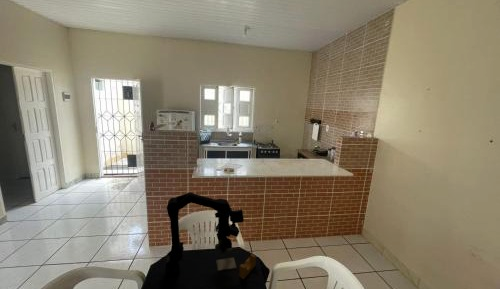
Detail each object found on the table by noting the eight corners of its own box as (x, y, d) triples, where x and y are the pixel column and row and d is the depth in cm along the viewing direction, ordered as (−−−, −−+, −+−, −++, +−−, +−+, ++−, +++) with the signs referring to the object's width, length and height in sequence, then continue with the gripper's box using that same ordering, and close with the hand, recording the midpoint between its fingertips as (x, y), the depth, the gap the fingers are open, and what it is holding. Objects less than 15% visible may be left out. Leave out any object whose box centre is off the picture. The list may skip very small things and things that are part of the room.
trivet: (217, 271, 114) (218, 270, 114) (216, 260, 121) (216, 260, 121) (236, 268, 116) (236, 267, 116) (233, 258, 124) (233, 257, 124)
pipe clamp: (248, 262, 121) (249, 252, 120) (255, 265, 119) (256, 255, 118) (236, 275, 111) (236, 264, 110) (243, 279, 109) (244, 268, 108)
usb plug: (215, 255, 114) (215, 248, 113) (214, 250, 118) (214, 244, 117) (232, 253, 116) (232, 246, 116) (231, 248, 120) (231, 241, 120)
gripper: (242, 231, 108) (241, 259, 110) (234, 214, 126) (234, 238, 128) (220, 234, 105) (219, 262, 107) (215, 215, 122) (215, 240, 125)
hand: (222, 250), depth 117 cm, fingers closed on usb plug, 4 cm apart
